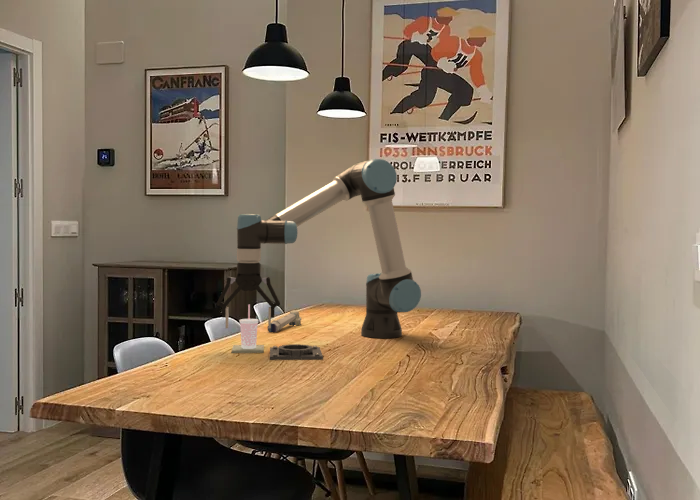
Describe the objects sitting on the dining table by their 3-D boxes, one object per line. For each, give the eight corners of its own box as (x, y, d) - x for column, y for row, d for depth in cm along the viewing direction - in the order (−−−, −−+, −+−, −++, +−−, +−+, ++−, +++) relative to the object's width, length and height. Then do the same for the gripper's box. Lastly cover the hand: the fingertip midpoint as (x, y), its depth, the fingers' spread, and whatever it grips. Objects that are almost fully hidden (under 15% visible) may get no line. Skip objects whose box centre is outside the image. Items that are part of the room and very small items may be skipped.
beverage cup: (242, 349, 220) (243, 305, 220) (236, 346, 226) (236, 303, 225) (261, 348, 223) (261, 305, 223) (254, 345, 228) (254, 303, 228)
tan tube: (265, 322, 262) (291, 306, 286) (266, 339, 263) (292, 322, 287) (278, 323, 261) (303, 307, 284) (279, 340, 262) (303, 323, 285)
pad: (264, 347, 230) (264, 344, 230) (263, 352, 220) (263, 350, 220) (233, 347, 229) (233, 345, 229) (231, 353, 219) (231, 350, 219)
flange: (319, 350, 226) (319, 342, 226) (322, 359, 210) (322, 351, 210) (269, 350, 224) (270, 343, 224) (269, 359, 208) (269, 352, 208)
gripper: (287, 261, 229) (286, 325, 229) (210, 261, 226) (210, 326, 227) (287, 262, 221) (287, 329, 222) (208, 262, 218) (207, 329, 219)
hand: (248, 327), depth 224 cm, fingers open, 13 cm apart
